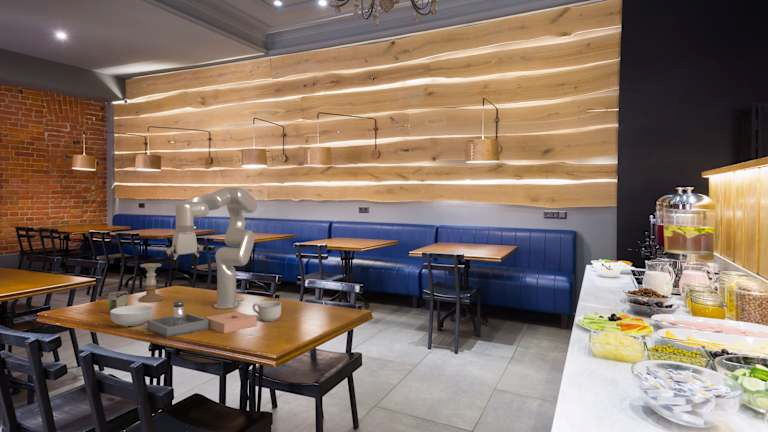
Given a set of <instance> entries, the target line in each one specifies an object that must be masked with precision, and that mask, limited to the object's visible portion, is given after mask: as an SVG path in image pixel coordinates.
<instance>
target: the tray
mask: <svg viewBox="0 0 768 432" xmlns="http://www.w3.org/2000/svg"><path fill="white" fill-rule="evenodd" d="M146 323H147V324H146V325H147V327H146V329H147V331H150V332H151V333H154V334H157V335H159V336H161V337H164V338H166V339H169V338H173V337H176V336H177V335H178V336H182V334H183V335H186V334H192V333H196V332H200V331H204V330H208V329H209V328H208V320H207V319H205V317H201V316H198V315H195V314H191V313H188V312H186V313H184V324H182V325H177V326H173V315H169V316H164V317H158V318H154V319H149V320H147V321H146ZM178 336H177V337H178Z"/></svg>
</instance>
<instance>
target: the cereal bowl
mask: <svg viewBox="0 0 768 432" xmlns="http://www.w3.org/2000/svg"><path fill="white" fill-rule="evenodd" d="M109 315H110V321H112V322H113V323H114V324H117V325H118V326H119V325H120V326H121V327H123V328H129V327H128V326H134V327H138V326H137V325H139V326H141V325H142V324H144V323H147V320H151V318H152V317H153V315H154V307H153V306H151V305H150V306H149V305H142V304H140V305H135V304H134V305H127V306H124V307H118V308H115V309H112V310H111V311H110V310H109Z"/></svg>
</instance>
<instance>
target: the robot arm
mask: <svg viewBox="0 0 768 432" xmlns="http://www.w3.org/2000/svg"><path fill="white" fill-rule="evenodd" d="M225 206H226V209H227V212H228V214H229V224H228V227H227V230H226V233H225V236H224V243H225V245H226V246H224V247H220V248H218V249H217V250H216V252H215V255H214V256H215V262H216V268H217V270H216V272H217V274H216V279H217V280H216V281H217V282H216V283H217V284H216V290H217V292H216V303H214V304H213V308H215V309H220V310H224V309H225V310H226V309H227V310H228V309H234V308H235V309H236V308H238V307H240V304H239V302H243V301H244V300H245V297H243V296H242V297H237V271H236V268H235V267H244V266H246V265H247V264H248V262H249V260H250V257H251V254H252V251H253V247H254V244H255V234H254V232H253V231H252V230H249V229H245V228H246V226H247V222H246V219H245V217H244V216H243V214H252V213H254V212H256V210H257V208H258V203H257V200H256V199H255V197H253V196H252V195H251V194H250V193H249V192H248V191H246V189H244V188H243V187H231V186H230V187H227V186H226V187H223V188H219V189H218V190H216V191H214V192H212V193H207V194H204V195H203V194H202V195H199V196H195V197H191V198H188V199H186V200H183V201H181V202H177V203H175V232H174V233H173V235H172V236H173V237H172V244H171V247H169V248H167V249H166V250H165V252H166V254H167V255H168V257H169V258H170V259H171V260H172V261H171V266H172V268H173V269H174V268H175V269H178V267H179V265H178V262H179V260H178V257H179V256H180V255H191V254H192V255H193V256H192V265H194V266H198V265H199V257H200V255H201V254H202V252H203V249H204V246H203V245H200V244H198V241H197V234H196V232H195V230H196V229H197V226H195V223H194V221H195V220H194V218H195V219H197V218H199V219H201V218H204V217H206V216H207V215H208V214H209V211H214V210H218V209H220V208H223V207H225Z"/></svg>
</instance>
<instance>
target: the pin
mask: <svg viewBox="0 0 768 432" xmlns="http://www.w3.org/2000/svg"><path fill="white" fill-rule="evenodd" d="M184 305H185V304H184V300H176V301H175V300H174V301H173V308H172V309H173V311H172V312H173V315H172V316H173V326H177V325H182V324H184V314H185V313H184V312H185V311H184V309H185V308H184V307H185V306H184Z"/></svg>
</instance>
